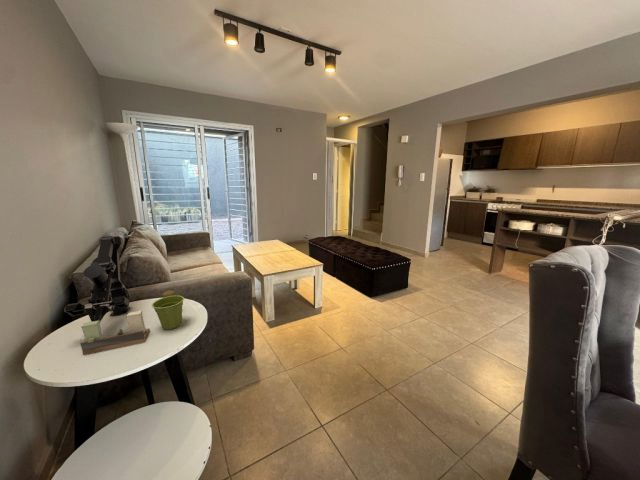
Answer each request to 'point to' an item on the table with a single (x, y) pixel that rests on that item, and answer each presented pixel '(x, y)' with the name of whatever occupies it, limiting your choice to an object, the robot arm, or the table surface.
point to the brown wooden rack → (114, 341)
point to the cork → (168, 293)
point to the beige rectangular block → (136, 321)
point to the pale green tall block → (92, 330)
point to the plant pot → (169, 311)
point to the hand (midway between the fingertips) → (95, 327)
